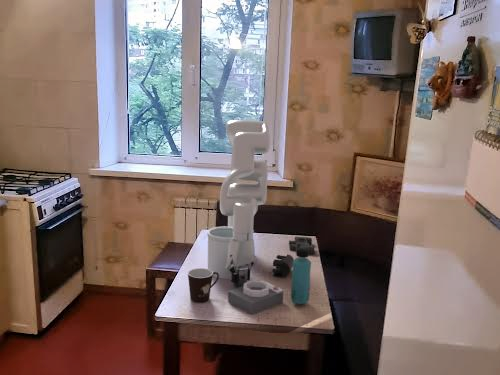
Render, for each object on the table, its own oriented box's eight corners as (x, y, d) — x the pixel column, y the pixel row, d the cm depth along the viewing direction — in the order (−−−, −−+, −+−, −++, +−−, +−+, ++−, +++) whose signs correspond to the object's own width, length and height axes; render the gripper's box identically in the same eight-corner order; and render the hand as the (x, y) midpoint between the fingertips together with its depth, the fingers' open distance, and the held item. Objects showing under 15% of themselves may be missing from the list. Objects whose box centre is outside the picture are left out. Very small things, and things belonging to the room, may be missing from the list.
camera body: (228, 301, 157) (228, 285, 156) (259, 290, 167) (259, 275, 166) (251, 314, 148) (252, 297, 147) (282, 302, 158) (283, 286, 157)
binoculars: (290, 254, 208) (290, 241, 206) (288, 243, 223) (289, 231, 222) (314, 255, 207) (315, 242, 206) (310, 244, 223) (311, 232, 222)
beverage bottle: (312, 304, 158) (316, 249, 154) (301, 310, 153) (305, 254, 149) (297, 298, 162) (300, 245, 158) (286, 303, 157) (289, 249, 153)
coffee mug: (189, 306, 152) (189, 278, 150) (185, 295, 160) (186, 269, 158) (223, 303, 155) (224, 276, 153) (217, 293, 163) (218, 266, 161)
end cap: (289, 279, 179) (290, 263, 177) (272, 276, 181) (272, 260, 179) (293, 270, 188) (294, 254, 187) (277, 268, 190) (278, 252, 189)
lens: (230, 283, 170) (231, 263, 168) (241, 280, 173) (241, 260, 171) (239, 288, 166) (240, 268, 164) (250, 284, 169) (251, 264, 168)
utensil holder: (243, 281, 175) (245, 237, 172) (205, 280, 174) (206, 236, 171) (242, 266, 189) (244, 226, 186) (207, 266, 189) (208, 225, 185)
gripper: (252, 228, 174) (250, 272, 178) (217, 236, 162) (216, 283, 166) (266, 233, 168) (263, 278, 172) (231, 242, 157) (229, 290, 161)
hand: (240, 280), depth 169 cm, fingers closed on lens, 5 cm apart
